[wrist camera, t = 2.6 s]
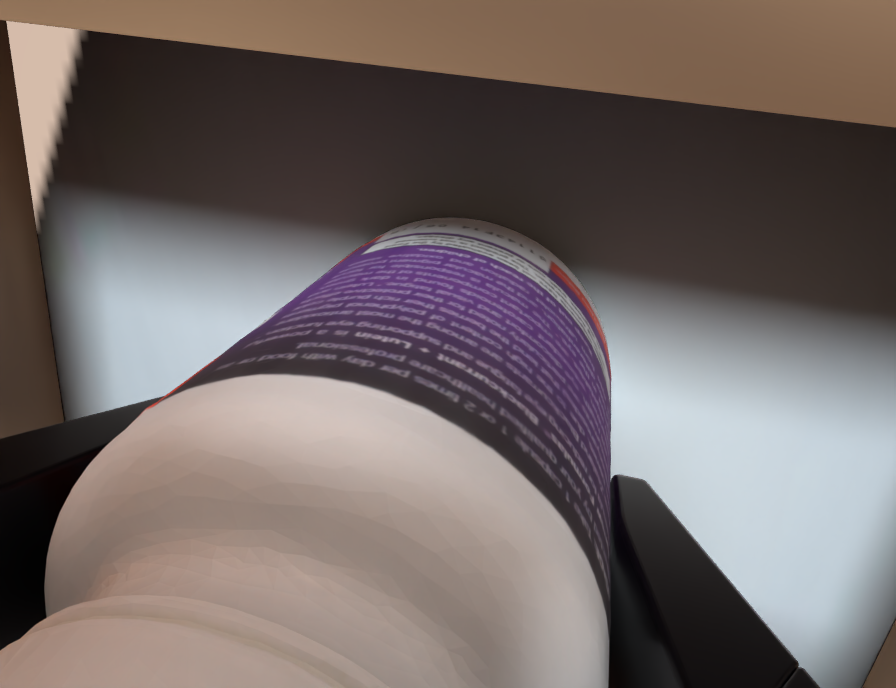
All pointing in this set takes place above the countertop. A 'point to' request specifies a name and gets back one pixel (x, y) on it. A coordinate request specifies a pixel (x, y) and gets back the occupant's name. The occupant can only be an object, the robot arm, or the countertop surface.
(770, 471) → the countertop surface
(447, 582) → the pill bottle
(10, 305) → the slot box
